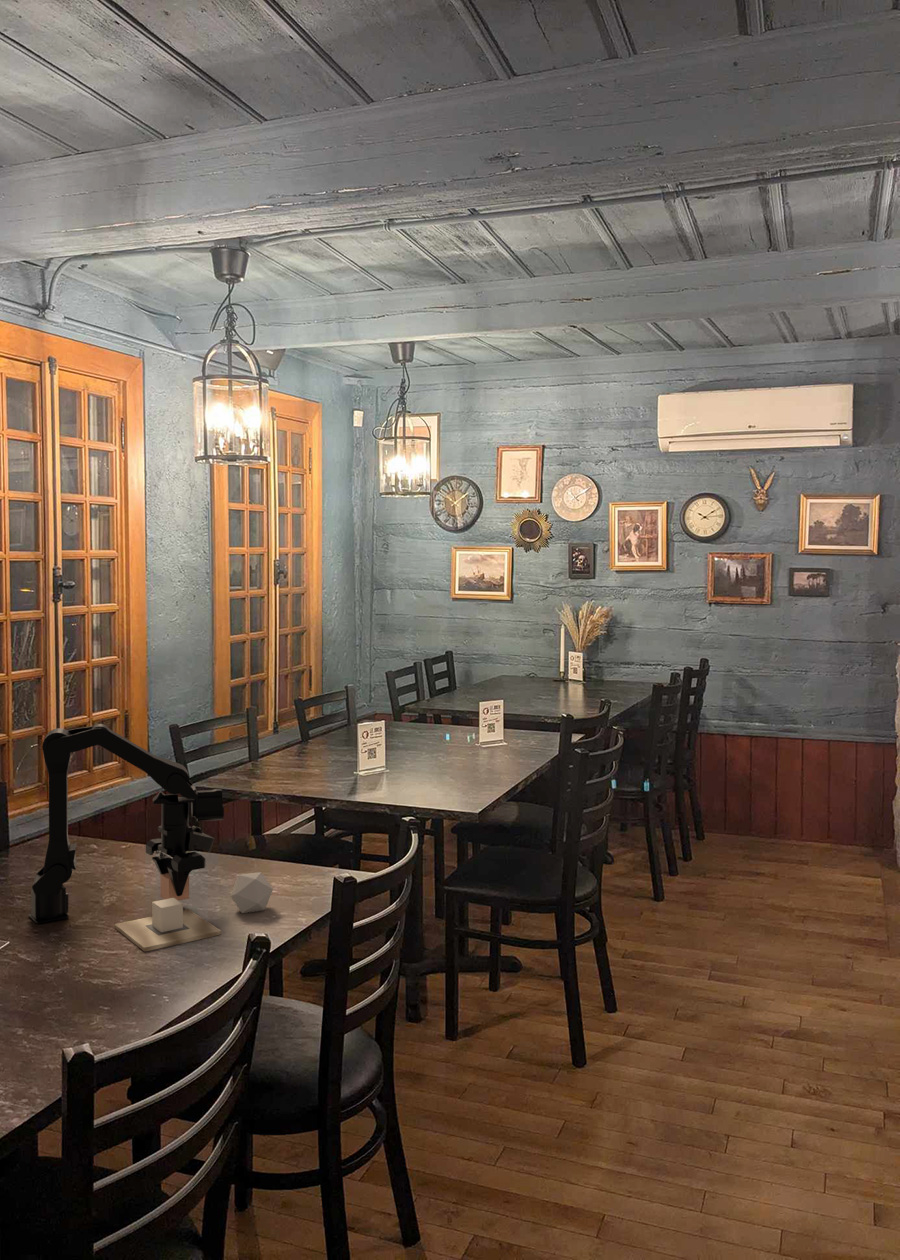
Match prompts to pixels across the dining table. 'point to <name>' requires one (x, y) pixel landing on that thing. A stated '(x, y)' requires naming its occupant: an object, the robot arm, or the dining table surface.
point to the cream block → (167, 914)
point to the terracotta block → (172, 888)
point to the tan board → (166, 932)
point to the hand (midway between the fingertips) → (174, 892)
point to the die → (251, 892)
